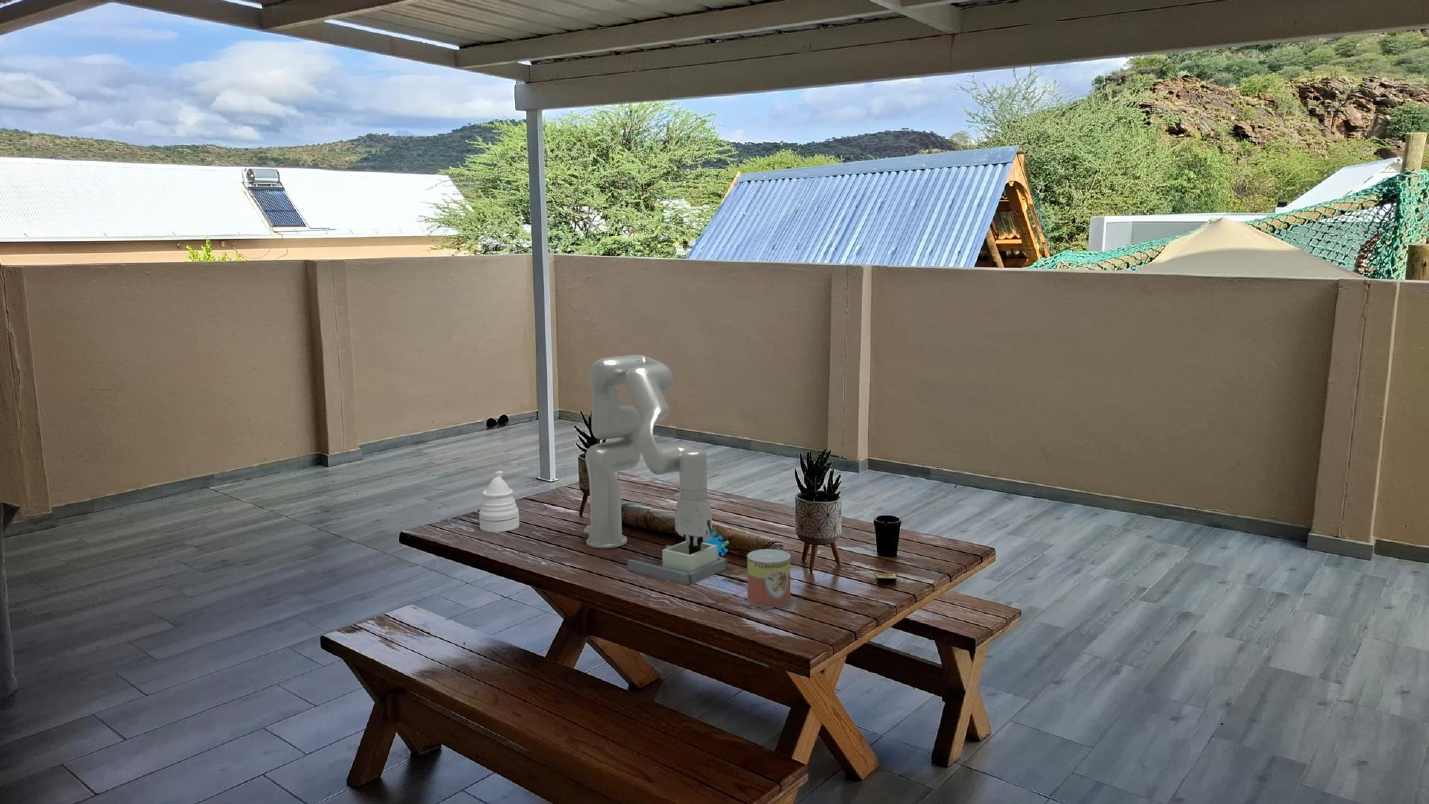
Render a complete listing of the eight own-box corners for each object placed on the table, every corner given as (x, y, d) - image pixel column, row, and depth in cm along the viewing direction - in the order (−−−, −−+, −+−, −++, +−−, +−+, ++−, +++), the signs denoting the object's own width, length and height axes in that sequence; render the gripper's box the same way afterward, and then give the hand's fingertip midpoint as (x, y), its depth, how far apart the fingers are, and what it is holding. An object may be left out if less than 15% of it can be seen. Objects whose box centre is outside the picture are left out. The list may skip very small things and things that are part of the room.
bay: (628, 573, 276) (627, 560, 276) (667, 557, 290) (667, 545, 289) (689, 589, 263) (688, 575, 263) (727, 571, 277) (727, 558, 276)
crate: (662, 574, 272) (662, 549, 271) (689, 562, 281) (689, 539, 280) (690, 581, 266) (690, 556, 265) (717, 569, 275) (717, 545, 274)
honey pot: (488, 520, 332) (485, 468, 329) (524, 521, 330) (522, 469, 327) (473, 531, 319) (471, 477, 317) (511, 532, 318) (509, 478, 315)
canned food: (758, 610, 247) (758, 564, 245) (740, 596, 257) (739, 552, 256) (798, 603, 252) (798, 558, 250) (778, 590, 262) (778, 546, 260)
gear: (706, 559, 283) (694, 529, 288) (696, 569, 287) (685, 540, 292) (736, 556, 290) (724, 528, 295) (726, 567, 293) (714, 538, 298)
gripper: (663, 493, 271) (665, 557, 273) (706, 500, 262) (708, 566, 264) (681, 487, 277) (682, 550, 279) (723, 494, 268) (724, 559, 270)
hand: (694, 558), depth 272 cm, fingers closed
